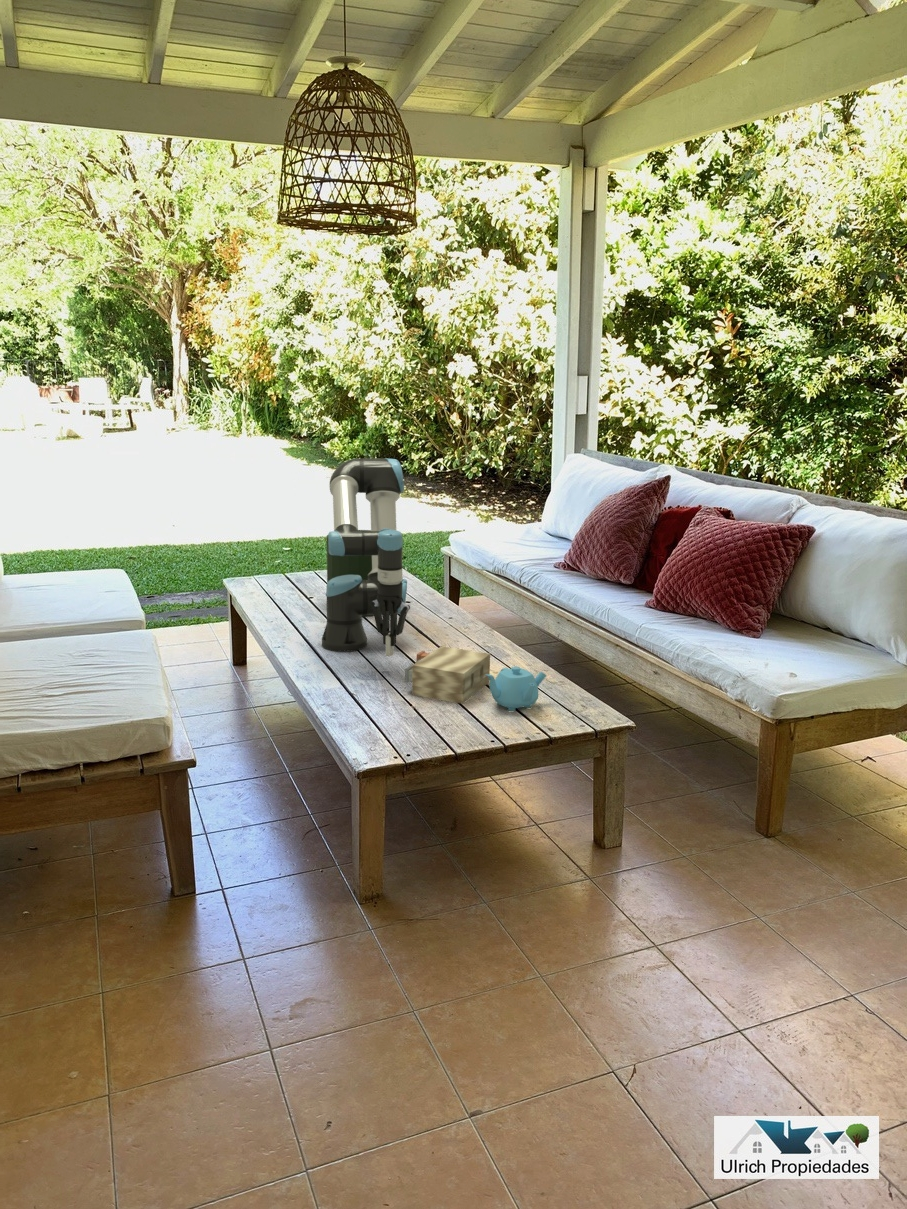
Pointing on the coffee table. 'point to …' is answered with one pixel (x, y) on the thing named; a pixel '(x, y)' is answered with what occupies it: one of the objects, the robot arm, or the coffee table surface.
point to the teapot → (515, 687)
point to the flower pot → (348, 566)
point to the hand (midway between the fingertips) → (389, 654)
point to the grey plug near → (408, 674)
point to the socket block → (450, 674)
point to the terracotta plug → (421, 655)
